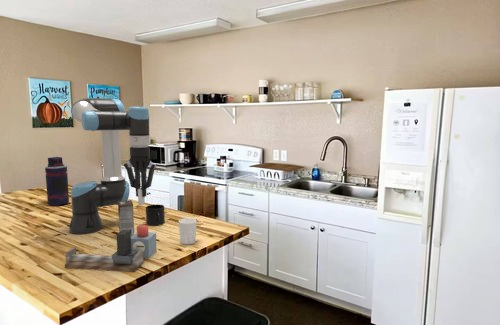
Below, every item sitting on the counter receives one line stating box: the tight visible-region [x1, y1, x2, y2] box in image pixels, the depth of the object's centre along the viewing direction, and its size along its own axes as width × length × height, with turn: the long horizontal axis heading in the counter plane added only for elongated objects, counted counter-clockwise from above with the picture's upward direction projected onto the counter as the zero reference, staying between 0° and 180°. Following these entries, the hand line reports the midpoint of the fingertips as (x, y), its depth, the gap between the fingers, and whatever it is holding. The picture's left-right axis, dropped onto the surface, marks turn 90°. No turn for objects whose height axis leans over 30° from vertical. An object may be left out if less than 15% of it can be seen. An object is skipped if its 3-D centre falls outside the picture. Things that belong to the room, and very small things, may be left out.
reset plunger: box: [136, 224, 149, 237], centre depth 139 cm, size 4×4×4 cm
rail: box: [64, 246, 144, 273], centre depth 130 cm, size 28×8×6 cm, turn 84°
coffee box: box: [117, 199, 135, 237], centre depth 161 cm, size 9×6×16 cm
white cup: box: [178, 217, 198, 245], centre depth 154 cm, size 8×8×10 cm
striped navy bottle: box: [44, 156, 70, 207], centre depth 216 cm, size 14×12×30 cm
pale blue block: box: [131, 231, 157, 260], centre depth 140 cm, size 8×9×8 cm
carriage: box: [111, 230, 137, 264], centre depth 128 cm, size 7×6×12 cm
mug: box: [145, 203, 166, 227], centre depth 180 cm, size 9×12×9 cm
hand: (141, 204), depth 138 cm, fingers closed
